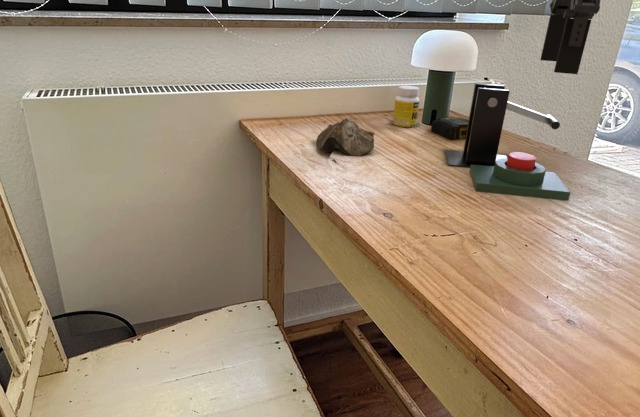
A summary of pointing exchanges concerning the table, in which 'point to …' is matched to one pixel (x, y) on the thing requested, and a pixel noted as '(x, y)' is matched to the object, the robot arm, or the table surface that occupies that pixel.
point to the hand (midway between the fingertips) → (557, 66)
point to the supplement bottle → (406, 107)
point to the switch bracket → (482, 128)
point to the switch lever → (533, 115)
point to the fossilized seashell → (346, 138)
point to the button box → (518, 181)
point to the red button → (521, 161)
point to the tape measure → (450, 127)
